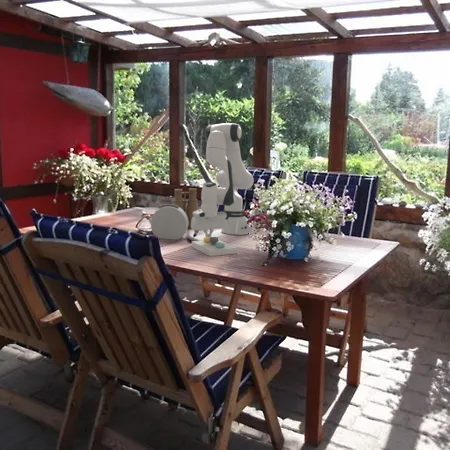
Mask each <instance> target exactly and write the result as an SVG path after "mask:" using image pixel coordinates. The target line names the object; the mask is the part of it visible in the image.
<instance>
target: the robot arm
mask: <svg viewBox="0 0 450 450" xmlns="http://www.w3.org/2000/svg"><path fill="white" fill-rule="evenodd" d="M242 134H243V133H242V128H241V126H240V124H238V123H234V122H232V123H227V122H226V123H224V122H223V123H218V124H209V125H207V126H206V127H205V129H204V139H205V140H206V150H205V158H206V161H207V162H208V163H209V164H210V165H212V166H213V167H215V168H217V169H220V170H219V171H218V172H217V174H216V176H215V177H216V178H215V179H216V180H215V181H216V182H212V181H208V182H203V184H202V188H201V192H200V200H201V205H200V208H198V210H196V211H194V212H193V217H192V220H191V228H190V229H191V230H193V231H203V233H204V234H205V235H204V237H206V238H207V237H213V235H212V234H213V233H214V231H215V230H218V229H219V230H220V229H221V231H220V232H221V233H223V234H226V235H236V236H243V235H244V236H245V235H249V234H248V233H250V232H252V231H253V229H254V228H253V229H252V228H251V227H249V226H248V224H247V221H248V220H249V218H247V217H246V216H247V215H248V214H247V212H248V210H247V211H246V210H245V211H244V209H243V197H242V195H240V194H239V193H238V191H237V189H238V190H249V189H251V188H252V186H253V185H254V180H255V179H254V176H253V174H252V173H250V171H248V170H247V168H246V166H245V165H244V163H243V160H242V156H241V155H242V154H241V148H240V143H239V141H241V138H242ZM218 186H219V187H218ZM219 205H220V206H221V205H222V206H224V209H223V211H218V206H219ZM245 215H246V216H245ZM208 231H209V233H208Z"/></svg>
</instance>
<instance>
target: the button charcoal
mask: <svg viewBox="0 0 450 450" xmlns="http://www.w3.org/2000/svg"><path fill="white" fill-rule="evenodd" d="M218 240H219V237H217V236H211V237H210V240H209V241H210V242H211V245H216V243H217V242H218Z"/></svg>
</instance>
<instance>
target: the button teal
mask: <svg viewBox="0 0 450 450" xmlns="http://www.w3.org/2000/svg"><path fill="white" fill-rule="evenodd" d="M225 243H226V242H225ZM225 243H221V242H218V243H216V246H215V247H217V248H224V247H225Z"/></svg>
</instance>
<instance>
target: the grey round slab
mask: <svg viewBox="0 0 450 450" xmlns="http://www.w3.org/2000/svg"><path fill="white" fill-rule="evenodd" d="M188 224H189V222H188V217H187V215H186V211H185V212H184V211H183V210H182V209H181V208H180V207H179V206H177V205H174V204H173V203H166V204H162V205H161V207H160V208H158V209H157V210H156V211H155V212H154V213H153V214H152V216H151V219H150V229H151V231H152V234H153V235H154V236H155V235H156V236H158V237H159V238H158V239H166V240H167V239H168V240H170V239H171V240H181V239H182V237H184V236H185V234H186V233H187V231H188V230H189V228H188ZM156 236H155V237H156Z"/></svg>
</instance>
